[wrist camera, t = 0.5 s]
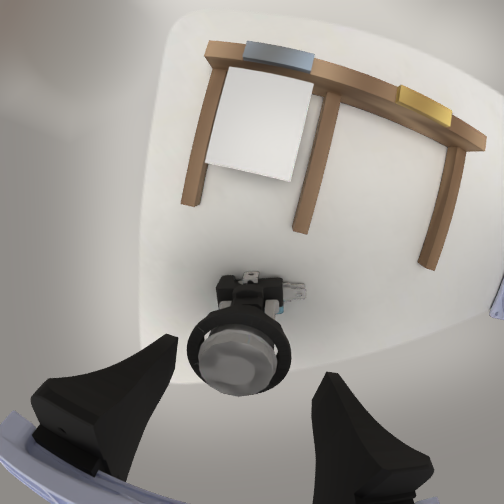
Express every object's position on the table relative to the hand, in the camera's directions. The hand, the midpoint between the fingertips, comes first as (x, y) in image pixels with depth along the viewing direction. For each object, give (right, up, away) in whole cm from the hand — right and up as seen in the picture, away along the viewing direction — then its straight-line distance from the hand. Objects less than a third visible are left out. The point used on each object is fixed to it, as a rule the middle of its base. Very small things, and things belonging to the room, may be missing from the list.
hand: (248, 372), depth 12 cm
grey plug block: (+1, +14, +7) cm, 15 cm away
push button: (+1, +3, +10) cm, 10 cm away
